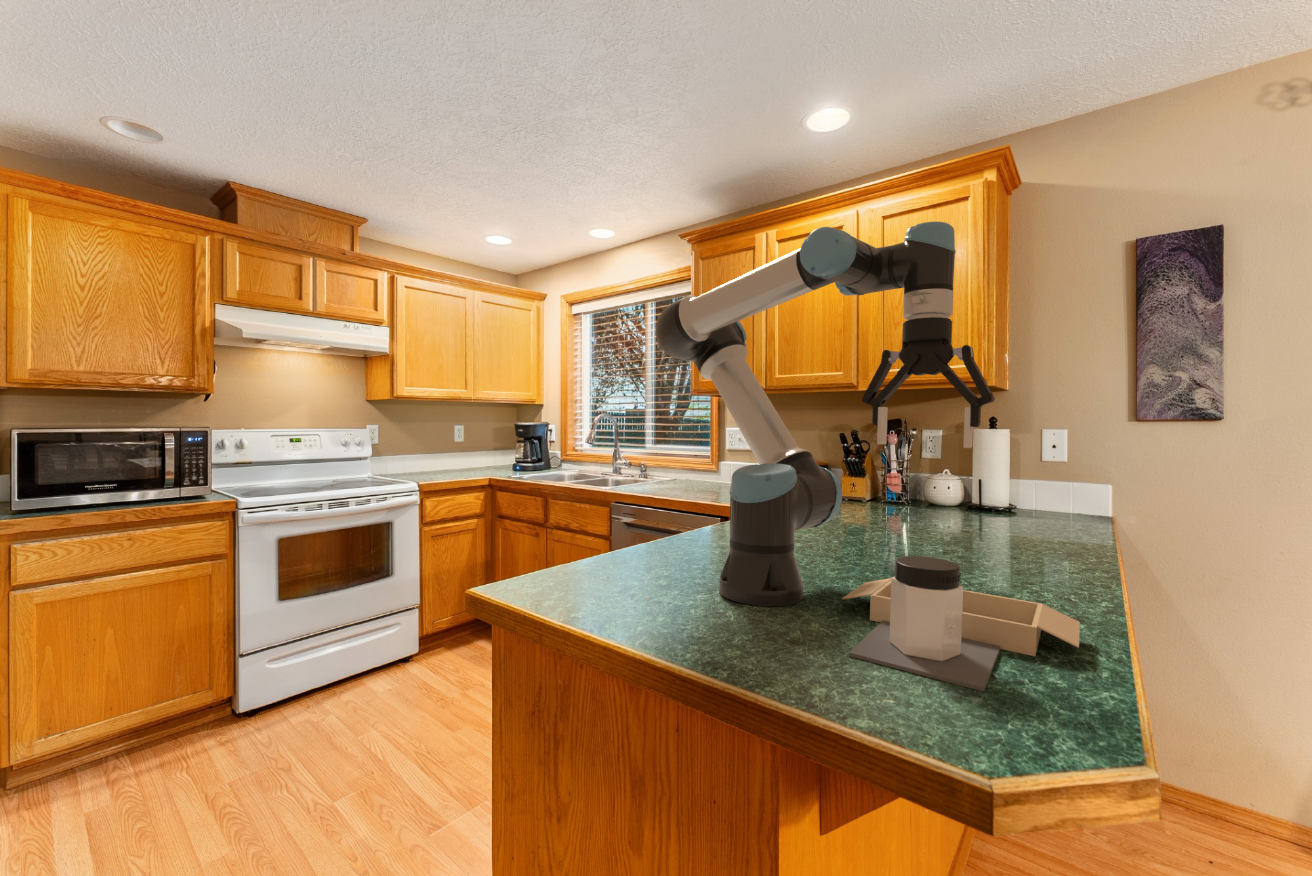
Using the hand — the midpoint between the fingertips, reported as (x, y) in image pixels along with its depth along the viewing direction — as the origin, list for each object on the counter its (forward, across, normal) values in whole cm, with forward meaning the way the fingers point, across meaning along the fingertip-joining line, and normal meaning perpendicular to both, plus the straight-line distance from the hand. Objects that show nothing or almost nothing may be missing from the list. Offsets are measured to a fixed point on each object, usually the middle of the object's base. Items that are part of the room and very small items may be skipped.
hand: (922, 446), depth 97 cm
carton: (+28, +7, -4) cm, 29 cm away
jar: (+28, +6, -19) cm, 34 cm away
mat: (+28, +6, -19) cm, 34 cm away
